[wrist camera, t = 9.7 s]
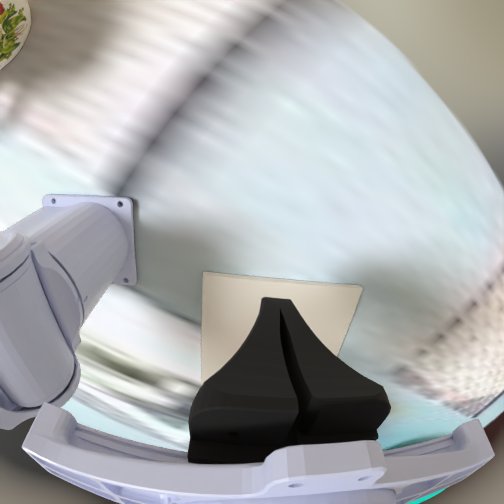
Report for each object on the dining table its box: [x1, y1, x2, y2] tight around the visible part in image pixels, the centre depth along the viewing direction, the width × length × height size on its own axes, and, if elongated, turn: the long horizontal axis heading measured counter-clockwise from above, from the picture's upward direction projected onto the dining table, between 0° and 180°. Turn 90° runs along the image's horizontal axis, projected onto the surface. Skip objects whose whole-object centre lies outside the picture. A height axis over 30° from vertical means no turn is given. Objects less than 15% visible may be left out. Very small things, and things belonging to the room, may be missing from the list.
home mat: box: [201, 271, 363, 385], centre depth 28 cm, size 14×18×1 cm
